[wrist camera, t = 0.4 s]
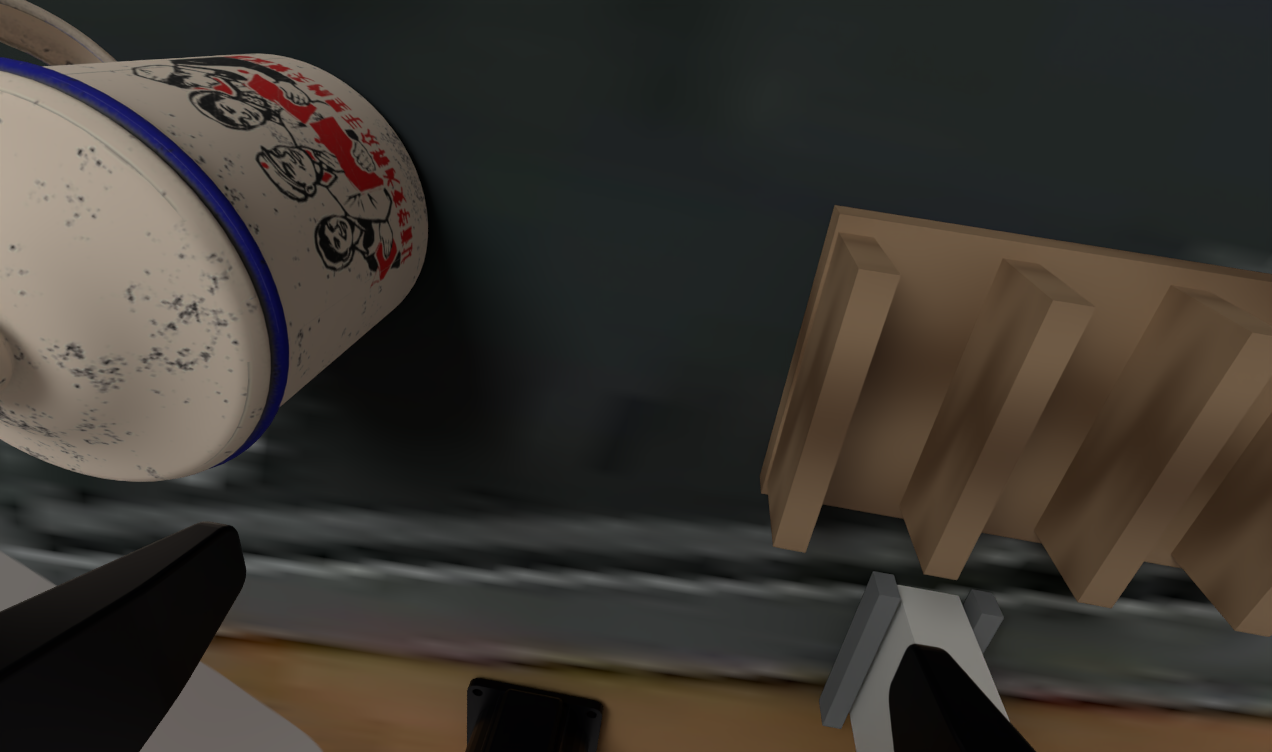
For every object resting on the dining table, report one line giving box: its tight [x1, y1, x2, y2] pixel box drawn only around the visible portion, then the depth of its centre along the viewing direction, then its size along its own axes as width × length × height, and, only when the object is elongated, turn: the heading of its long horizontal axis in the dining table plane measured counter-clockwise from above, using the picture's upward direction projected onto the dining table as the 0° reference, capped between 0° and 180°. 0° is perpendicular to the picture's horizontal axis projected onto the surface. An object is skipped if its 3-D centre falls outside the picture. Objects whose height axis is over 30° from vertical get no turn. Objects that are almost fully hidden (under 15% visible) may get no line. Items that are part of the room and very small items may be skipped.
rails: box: [819, 571, 1004, 729], centre depth 27 cm, size 8×5×1 cm, turn 173°
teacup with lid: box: [0, 0, 428, 482], centre depth 16 cm, size 12×9×12 cm
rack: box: [760, 205, 1272, 637], centre depth 19 cm, size 10×15×4 cm, turn 83°
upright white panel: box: [849, 585, 1010, 752], centre depth 24 cm, size 7×2×6 cm, turn 173°
